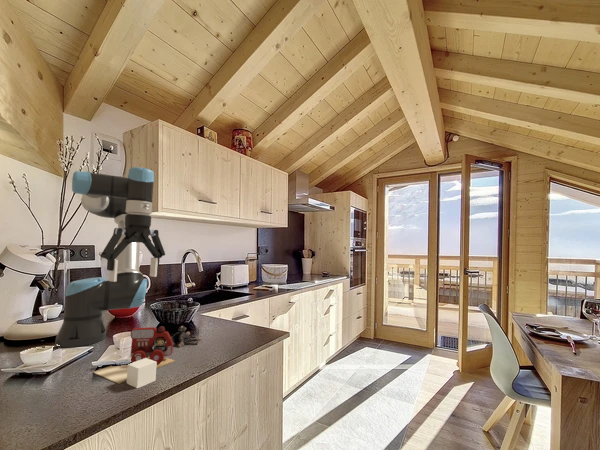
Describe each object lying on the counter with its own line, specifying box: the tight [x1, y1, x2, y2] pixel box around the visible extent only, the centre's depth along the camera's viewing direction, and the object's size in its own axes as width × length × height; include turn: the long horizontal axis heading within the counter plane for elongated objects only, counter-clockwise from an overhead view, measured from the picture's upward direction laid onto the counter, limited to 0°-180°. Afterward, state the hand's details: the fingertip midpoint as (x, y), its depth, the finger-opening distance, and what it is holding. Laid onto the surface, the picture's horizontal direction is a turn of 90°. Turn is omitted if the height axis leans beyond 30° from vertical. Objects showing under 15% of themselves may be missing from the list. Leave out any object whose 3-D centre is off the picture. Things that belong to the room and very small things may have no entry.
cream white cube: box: [126, 358, 157, 389], centre depth 74 cm, size 5×5×5 cm
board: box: [92, 356, 176, 385], centre depth 83 cm, size 13×17×1 cm
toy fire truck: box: [130, 325, 174, 364], centre depth 87 cm, size 7×12×10 cm, turn 103°
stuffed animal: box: [165, 325, 203, 349], centre depth 105 cm, size 12×10×12 cm
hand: (134, 278), depth 90 cm, fingers open, 13 cm apart
